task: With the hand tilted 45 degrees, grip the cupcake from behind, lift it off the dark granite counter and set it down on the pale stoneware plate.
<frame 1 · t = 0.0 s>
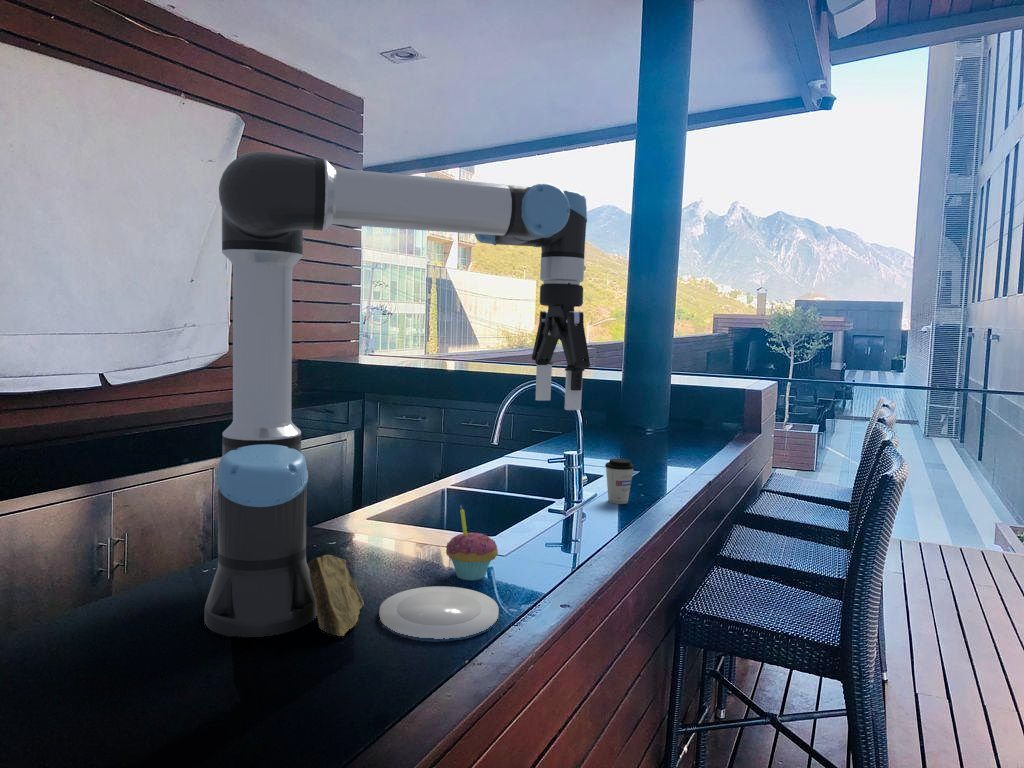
hand: (557, 405, 129), 28 cm above the counter, tool pointing down, fingers open, 13 cm apart
cupcake: (471, 576, 122), on the counter
rock: (346, 621, 103), on the counter
coffee cup: (618, 502, 176), on the counter
plate: (439, 616, 105), on the counter
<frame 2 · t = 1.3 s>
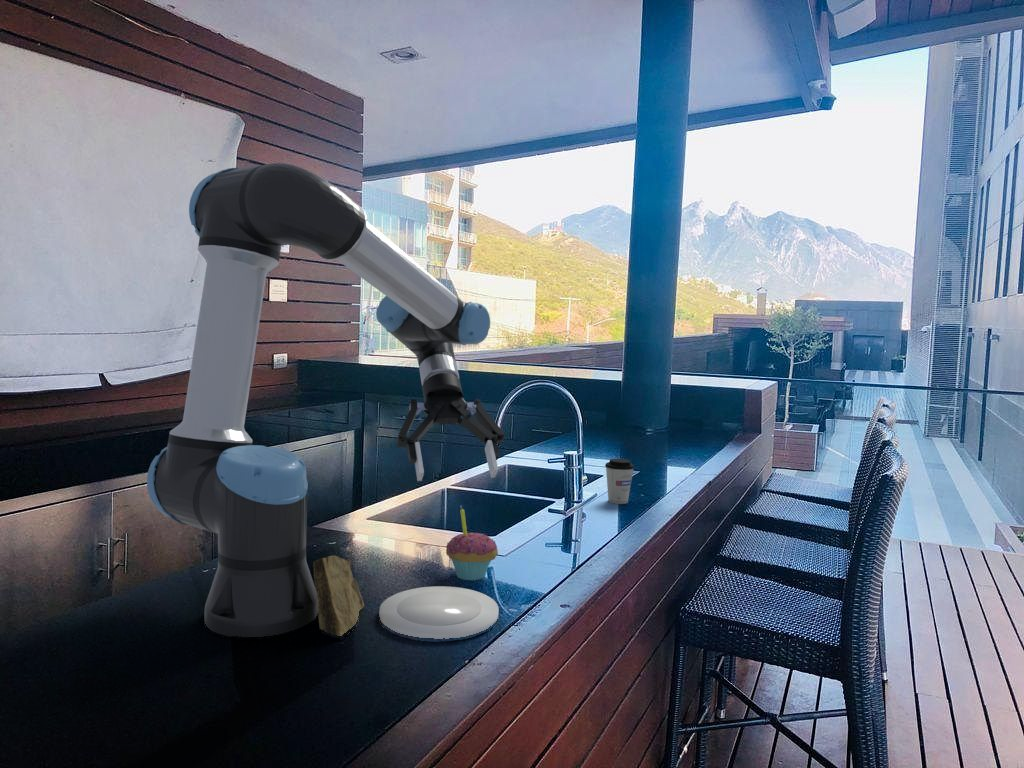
hand: (458, 475, 131), 15 cm above the counter, tool tilted 45°, fingers open, 13 cm apart
nothing on the counter moved.
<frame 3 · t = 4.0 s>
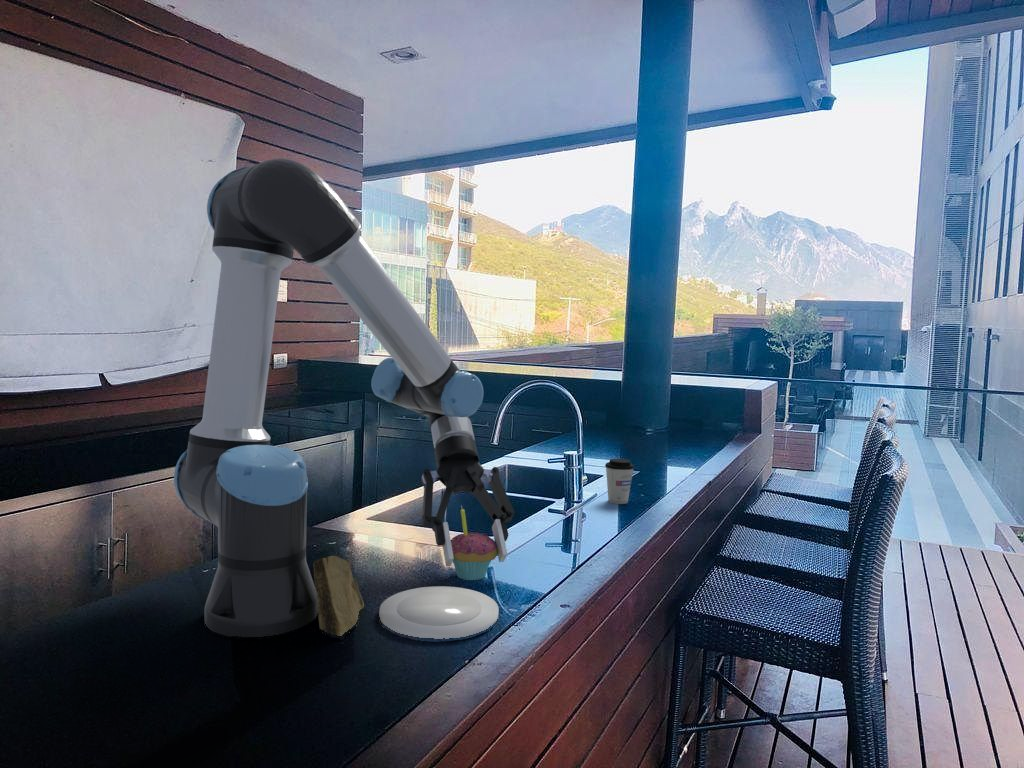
hand: (476, 560, 119), 4 cm above the counter, tool tilted 45°, fingers closed on cupcake, 8 cm apart
cupcake: (471, 576, 122), on the counter, touching gripper
everything else where it was.
when the fingers open (6 cm above the counter, at t = 8.6 s): cupcake drops 1 cm, resting on plate.
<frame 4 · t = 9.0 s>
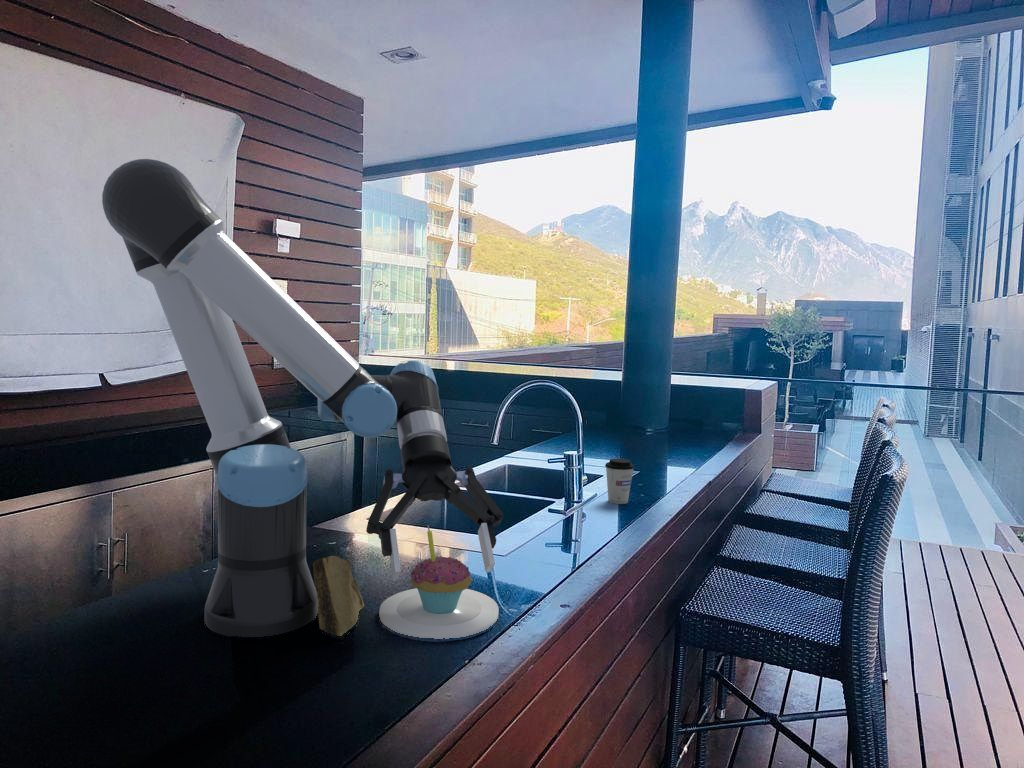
hand: (444, 572, 102), 7 cm above the counter, tool tilted 45°, fingers open, 13 cm apart
cupcake: (439, 608, 105), point 1 cm above the counter, touching plate
everything else where it was.
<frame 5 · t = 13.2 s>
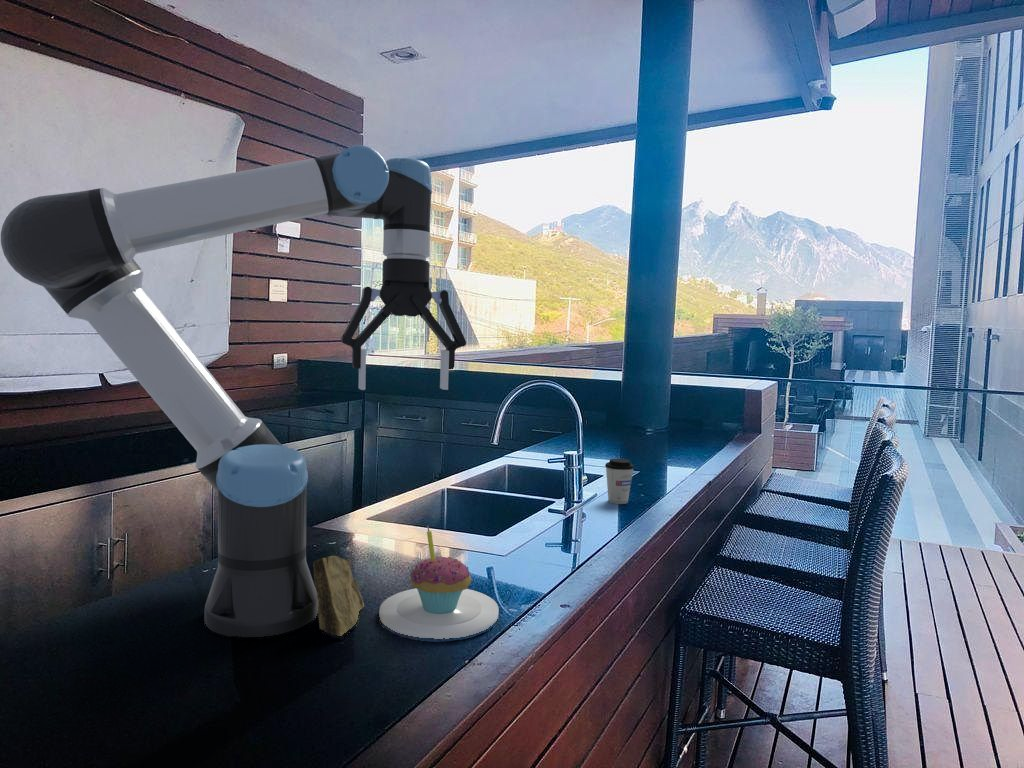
hand: (403, 389, 121), 31 cm above the counter, tool pointing down, fingers open, 13 cm apart
nothing on the counter moved.
at the end: cupcake inside the target area on the plate (0.1 cm from its centre), point 1.2 cm above the plate's base; cupcake tilted 0°; the gripper is holding nothing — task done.
